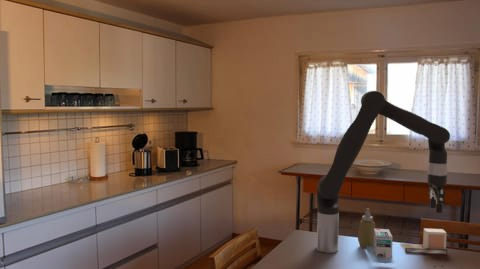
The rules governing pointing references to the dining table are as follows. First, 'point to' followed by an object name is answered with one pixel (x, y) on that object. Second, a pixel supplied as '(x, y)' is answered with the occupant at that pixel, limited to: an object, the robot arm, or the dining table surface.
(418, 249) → the brown panel with ledge
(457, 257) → the dining table surface
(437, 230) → the carton
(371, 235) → the squeeze bottle
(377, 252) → the light bulb box
